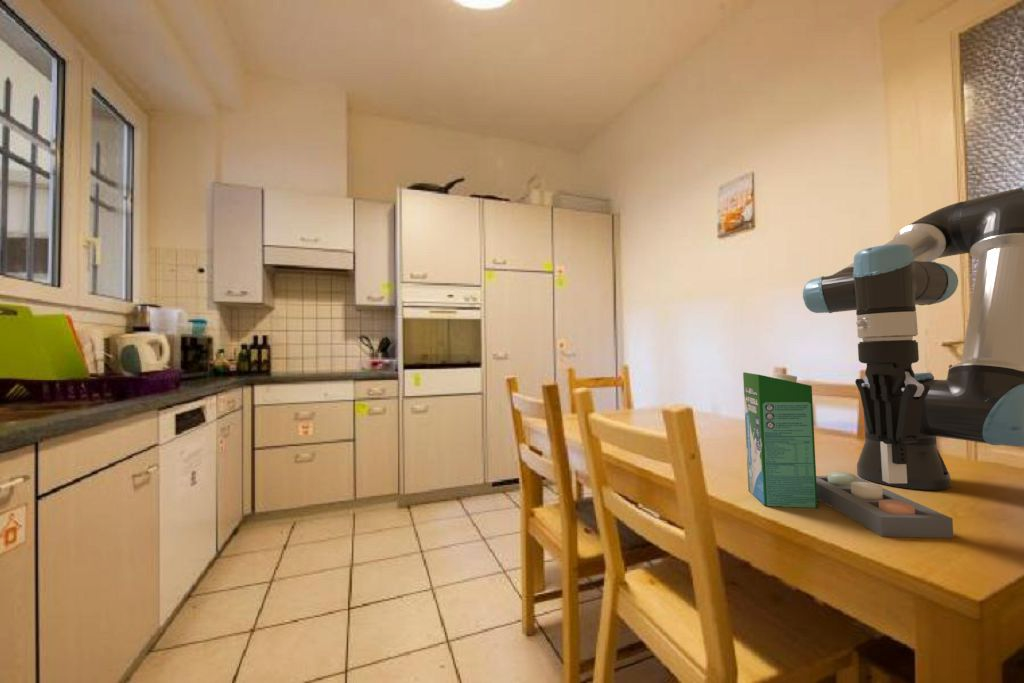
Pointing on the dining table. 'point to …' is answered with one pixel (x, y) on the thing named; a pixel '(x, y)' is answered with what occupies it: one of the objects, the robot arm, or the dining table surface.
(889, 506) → the terracotta button
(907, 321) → the robot arm
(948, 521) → the grey button tray
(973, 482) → the dining table surface
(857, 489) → the ivory button
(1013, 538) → the dining table surface
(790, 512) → the dining table surface
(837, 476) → the sage button
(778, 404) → the milk carton
